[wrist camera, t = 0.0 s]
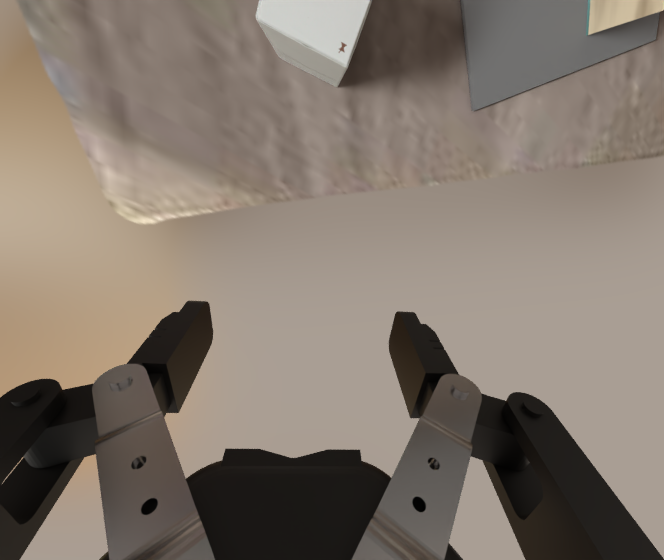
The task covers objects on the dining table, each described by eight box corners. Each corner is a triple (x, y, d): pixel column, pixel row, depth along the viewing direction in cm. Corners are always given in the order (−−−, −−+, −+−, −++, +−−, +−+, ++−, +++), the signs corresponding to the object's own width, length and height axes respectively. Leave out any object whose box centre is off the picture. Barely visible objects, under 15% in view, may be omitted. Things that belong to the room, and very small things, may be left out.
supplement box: (366, 11, 30) (395, -54, 19) (337, 89, 33) (347, 72, 22) (299, -30, 28) (288, -129, 17) (275, 56, 31) (253, 20, 20)
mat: (670, -100, 27) (677, -104, 27) (650, 41, 32) (655, 39, 32) (459, -6, 30) (462, -8, 29) (471, 111, 35) (474, 110, 34)
